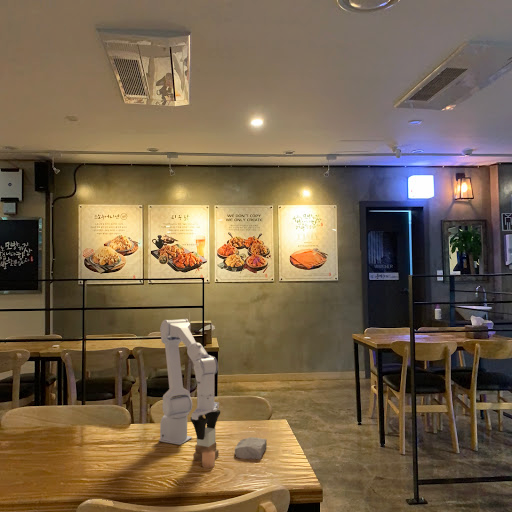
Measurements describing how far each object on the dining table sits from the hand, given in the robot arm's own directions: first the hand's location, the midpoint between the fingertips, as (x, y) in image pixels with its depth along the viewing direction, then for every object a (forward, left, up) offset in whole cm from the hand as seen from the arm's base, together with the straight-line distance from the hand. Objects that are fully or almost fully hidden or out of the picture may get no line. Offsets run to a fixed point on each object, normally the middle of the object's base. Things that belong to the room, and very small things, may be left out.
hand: (205, 435), depth 148 cm
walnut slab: (0, 0, -8) cm, 8 cm away
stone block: (+11, +10, -8) cm, 17 cm away
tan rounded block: (+4, -5, -7) cm, 10 cm away
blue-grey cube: (0, 0, -2) cm, 3 cm away
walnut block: (0, 0, -5) cm, 5 cm away
